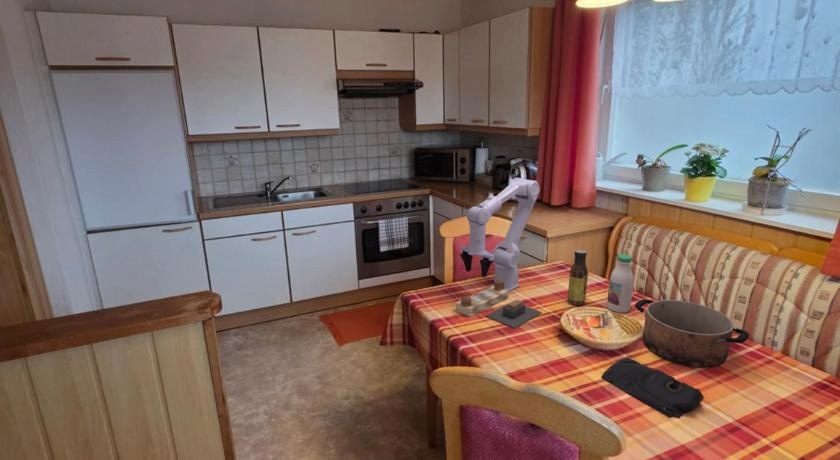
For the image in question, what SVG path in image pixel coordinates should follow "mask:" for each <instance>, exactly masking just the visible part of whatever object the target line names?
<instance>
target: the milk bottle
mask: <svg viewBox="0 0 840 460" xmlns="http://www.w3.org/2000/svg"><path fill="white" fill-rule="evenodd" d="M616 260H617V264H616V266H615V267H614V269H613V271H612V272H611V275H610V278H609V284H608V293H607V301H606V307H607V309H608V310H610V311H611V310H612V311H611V312H614V311H615V312H614V313H621V314H625V313H628V312H630V310H631V305H632V297H633V290H634V273H633V271H632V267H631V264H632V260H633V257H632V256H631V255H629V254H624V253H623V254H621V253H619V254H618V255H617V257H616Z"/></svg>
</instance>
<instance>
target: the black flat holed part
mask: <svg viewBox="0 0 840 460" xmlns="http://www.w3.org/2000/svg"><path fill="white" fill-rule="evenodd" d="M600 378H601V379H602V380H604V381H605V382H606V383H608V384H610V385H612V386H614V387H615V388H617V389H618V390H620V391H622V392H623V393H625V394H626V395H628V396H630V397H631V398H634V399H636V400H637V401H639V402H641V403H642V404H644V405H645V406H648V407H649V408H652V409H653V410H655V411H656V412H658V413H660V414H661V415H664V416H665V417H666V418H673V417H674V418H676V419H680V418H681V417H683V416H684V415H685V414H687V413H691V412H693V411H695V409H697V408H698V407H699V406H700V404H701V403H702V402H701V401H702V399H703V398H705V397H704V394H703V393H702V392H701V390H700V389H699V388H696V387H694V386H691V385H688V383H686V382H681V381H679V380H678V379H675V377H673V376H671V375H669V374H667V373H665V372H664V371H662V370H660V369H653V368H651V367H650V366H647V365H644V364H642V363H640V362H639V361H637V360H635V359H632V358H630V357H625V358H622V359H619V360H617V362H615V363H613V364H612V365H610V366H609V367H608V368H607V369H606V370H605V371H603V373H602V375H601V377H600Z"/></svg>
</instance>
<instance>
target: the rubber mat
mask: <svg viewBox="0 0 840 460" xmlns="http://www.w3.org/2000/svg"><path fill="white" fill-rule="evenodd" d="M508 304H509V303H507V304H505V305H504V306H506V305H508ZM504 306H502V307H500V308H498V309H495V310H494V311H492V312H490V313H488V314H486V315H485V318H488V319H491V320H493V321H495V322H498V323H500V324H502V325H505V326H507V327H510V328H512V329H514V330H515V329H517V328H519V327H520V326H522V325H524V324H525V323H528V322H529V321H531V320H533V319H534V318H537V317H538V316H540V315H541V314H542V311H539V310H537V309H535V308H531V307H529V306H526V307H525V313H524V314H522V315H520V316H519V317H517V318H515V319H511V318H509V317H506V316H504V315H503V307H504Z"/></svg>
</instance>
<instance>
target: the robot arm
mask: <svg viewBox="0 0 840 460" xmlns="http://www.w3.org/2000/svg"><path fill="white" fill-rule="evenodd" d="M540 191H541V189H540V185H539V182H538V181H536V180H532V179H525V178H520V177H514V178H513V179H512V180H510V181H509V185H507V186H506V187H505V188H504V189H503V190H502V191H500V192H499V193H498V194H497V195H496V196H495V195H489V196H487V199H485V200H484V201H483V202H480V203H479V204H478V205H477V206H476V205H475V206H472V207H470V208H469V209H468V211H467V214H466V219H467V221H468V225H469V245H468V246H466V245H462V246H460V250H459V251H460V252H461V253H460V254H459V256H460V258H461V260H462V261H463V265H464V268H465V272H467V273H468V272H471V271H472V265H473V264H472V263H473V259H474V258H473V257H474V256H476V257H479V258H481V259H479V263H480V268H481V270H480V271H481V274H480V275H481V278H486V277H487V276H488V272H489V270H490V267H491V265H492V263H493V265H494V267H495V268H494V282H496V281H498V280H501V281H503V282H504V289H505V290H508V291H509V292H510V291H512V290H514V289H516V288H519V287H520V284H518V283H519V282H518V281H519V268H518V264H519V260H520V255H521V251H520V249H519V247H518V244H519V243H520V239H521V237H522V235H523V233H524V229H525V227H526V225H527V223H528V220H529V218H530V215H531V213H532V210H533V209H534V206H535V203H536V201H537V199H538V196H539V193H540ZM513 197H514V198H515V199H516V200H517V202H518V205H517V206H518V207H517V209H516V210H515V213H514V216H513V218H512V220H511V224H510V226H509V228H508V230H507V232H506V234H505V237H504V240H503V241H500V242H498V243H497V244H496V247H495V248H494V249H493V251H492V253H491V252H489V251H488V250H486V228H487V227H486V224H487V223H488V222H489V221H490V218H491V217H492V215H494V214H495V213H497V212H498V211H499V210H500V209H501V208H502V205H503V203H505V202H507V201H508V200H511V198H513ZM492 286H494V283H492V284H491V285H490V286H489V288H490V287H492Z"/></svg>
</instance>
